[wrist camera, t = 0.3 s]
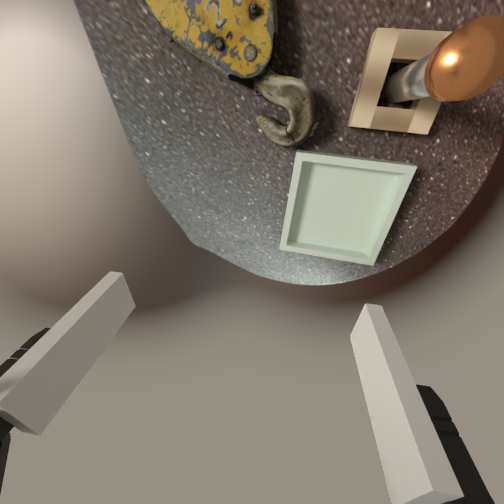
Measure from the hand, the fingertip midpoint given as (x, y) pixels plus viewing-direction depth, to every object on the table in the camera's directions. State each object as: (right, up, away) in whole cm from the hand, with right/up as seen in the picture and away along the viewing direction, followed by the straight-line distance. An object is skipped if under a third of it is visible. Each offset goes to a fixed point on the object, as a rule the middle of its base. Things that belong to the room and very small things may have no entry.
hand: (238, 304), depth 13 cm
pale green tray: (+14, +10, +23) cm, 28 cm away
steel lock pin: (+18, +23, +14) cm, 32 cm away
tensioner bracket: (+18, +23, +14) cm, 32 cm away
